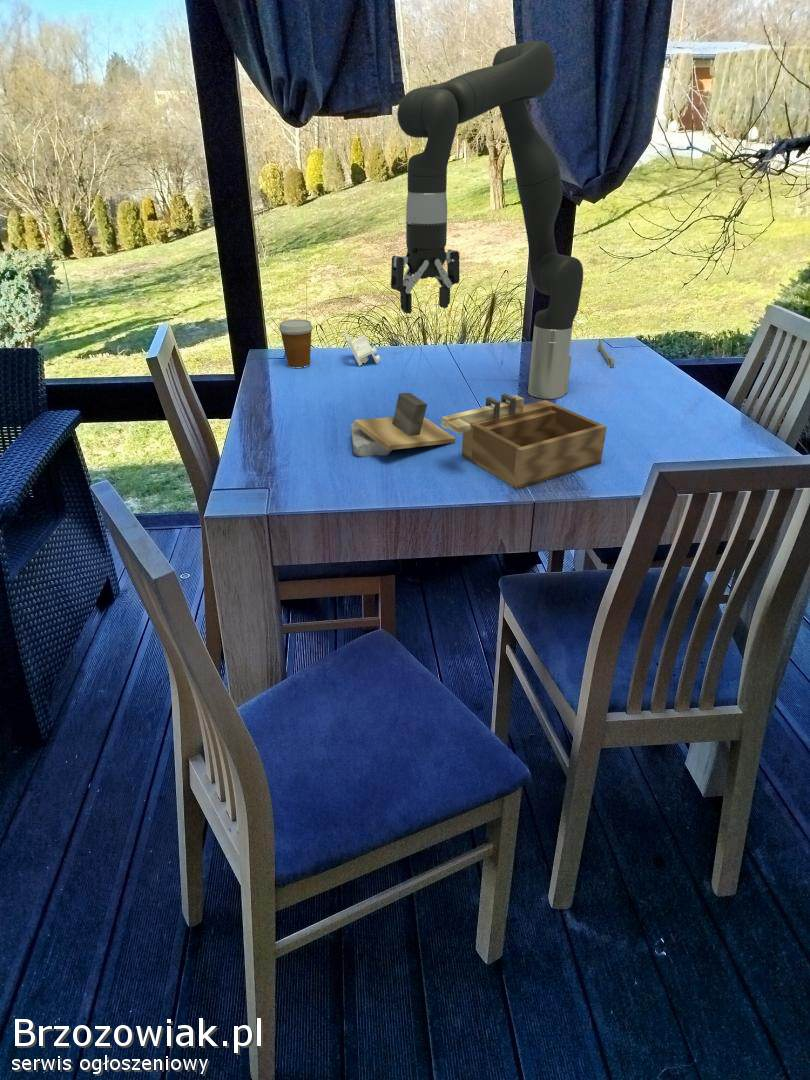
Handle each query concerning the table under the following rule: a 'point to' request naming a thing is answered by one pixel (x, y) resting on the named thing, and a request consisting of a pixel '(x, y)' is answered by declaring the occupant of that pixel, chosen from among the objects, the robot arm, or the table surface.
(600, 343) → the combination wrench
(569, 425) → the wooden box
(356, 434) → the stone block
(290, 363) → the disposable coffee cup
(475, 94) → the robot arm
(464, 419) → the yellow latch bar
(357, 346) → the mounting bracket
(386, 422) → the lid
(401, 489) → the table surface
